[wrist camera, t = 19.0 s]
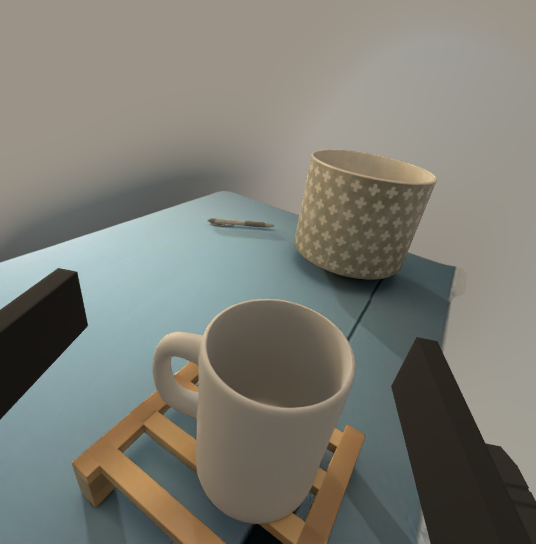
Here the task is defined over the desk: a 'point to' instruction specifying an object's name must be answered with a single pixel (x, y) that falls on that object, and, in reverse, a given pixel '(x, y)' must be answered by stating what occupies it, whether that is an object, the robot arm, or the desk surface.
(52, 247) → the desk surface
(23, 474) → the desk surface
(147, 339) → the desk surface
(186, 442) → the rack
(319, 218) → the planter
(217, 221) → the pen
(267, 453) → the mug
